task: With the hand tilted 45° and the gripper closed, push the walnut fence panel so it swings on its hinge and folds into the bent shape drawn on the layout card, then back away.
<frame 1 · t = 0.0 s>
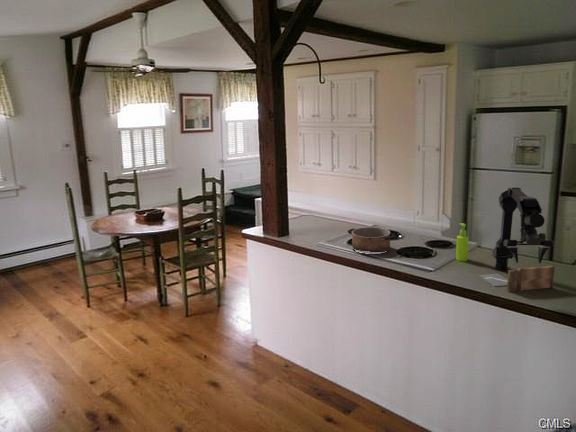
hand: (528, 263, 196), 15 cm above the table, tool pointing down, fingers open, 9 cm apart
soap dispenser: (461, 259, 249), on the table
cooking pot: (371, 249, 273), on the table
layout card: (496, 280, 219), on the table
fence post: (518, 290, 206), on the table
fence gate: (537, 277, 206), point 5 cm above the table, hinge at 0.0°
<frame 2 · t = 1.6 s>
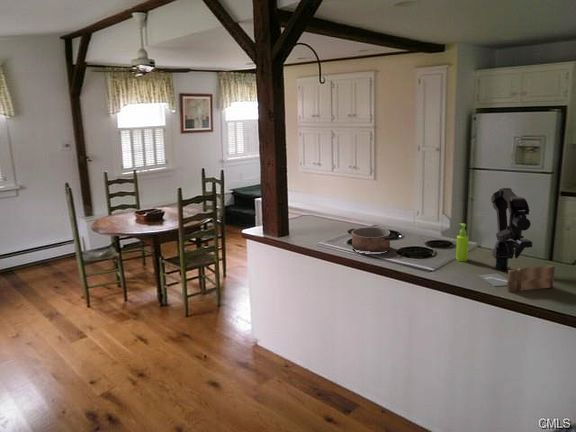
hand: (513, 256, 215), 12 cm above the table, tool pointing down, fingers open, 5 cm apart
nothing on the table moved.
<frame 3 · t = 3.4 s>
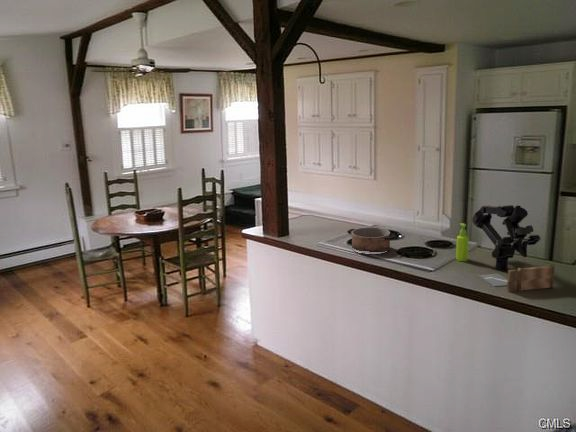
hand: (525, 257, 213), 13 cm above the table, tool tilted 45°, fingers closed
nothing on the table moved.
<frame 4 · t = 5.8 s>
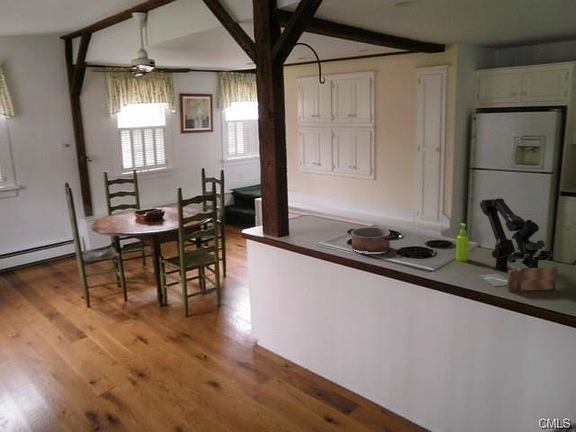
hand: (536, 273, 205), 8 cm above the table, tool tilted 45°, fingers closed, pressing on fence gate
fence gate: (539, 278, 205), point 5 cm above the table, hinge at 7.4°, touching gripper
everything else where it was.
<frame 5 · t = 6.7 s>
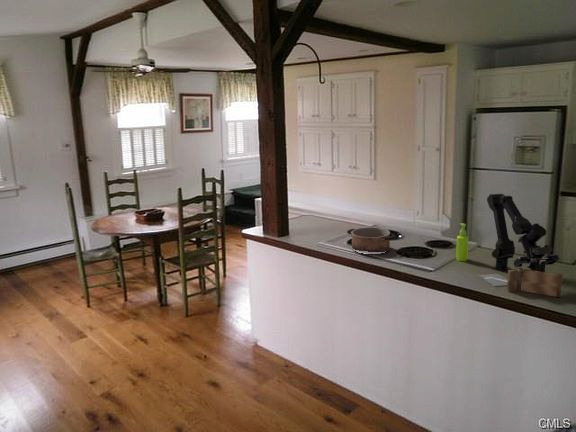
hand: (543, 278, 201), 7 cm above the table, tool tilted 45°, fingers closed
fence gate: (541, 282, 200), point 5 cm above the table, hinge at 39.7°, touching gripper
everything else where it was.
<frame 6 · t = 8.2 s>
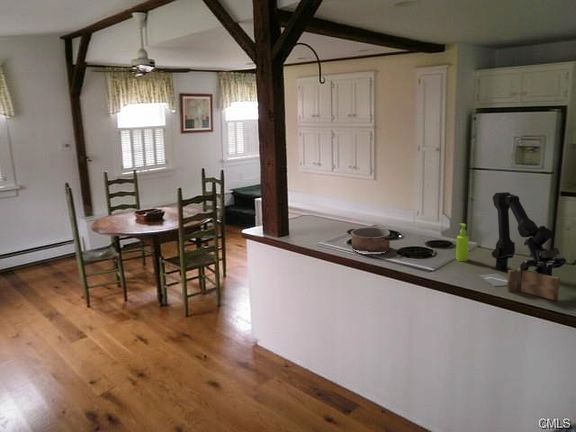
hand: (550, 282, 196), 7 cm above the table, tool tilted 45°, fingers closed
fence gate: (540, 284, 198), point 5 cm above the table, hinge at 57.2°, touching gripper
everything else where it was.
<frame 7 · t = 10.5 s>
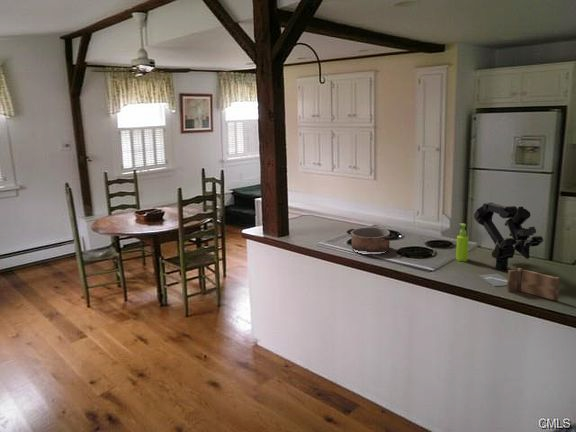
hand: (528, 258, 211), 12 cm above the table, tool tilted 45°, fingers closed
fence gate: (540, 284, 198), point 5 cm above the table, hinge at 57.2°
everything else where it was.
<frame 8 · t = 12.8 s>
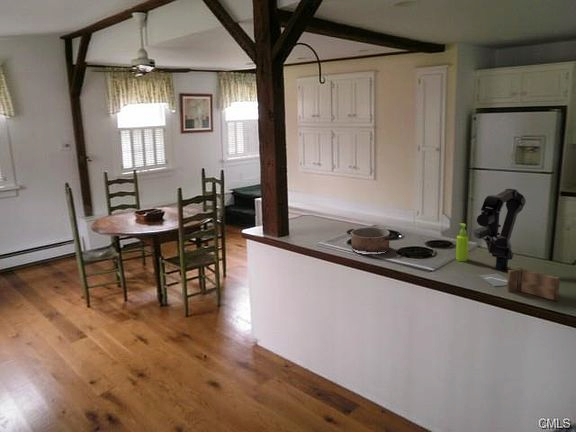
hand: (490, 253, 222), 12 cm above the table, tool pointing down, fingers closed
nothing on the table moved.
at the end: fence gate at +57° (first picture: +0°); soap dispenser moved 0.2 cm from its start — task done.
